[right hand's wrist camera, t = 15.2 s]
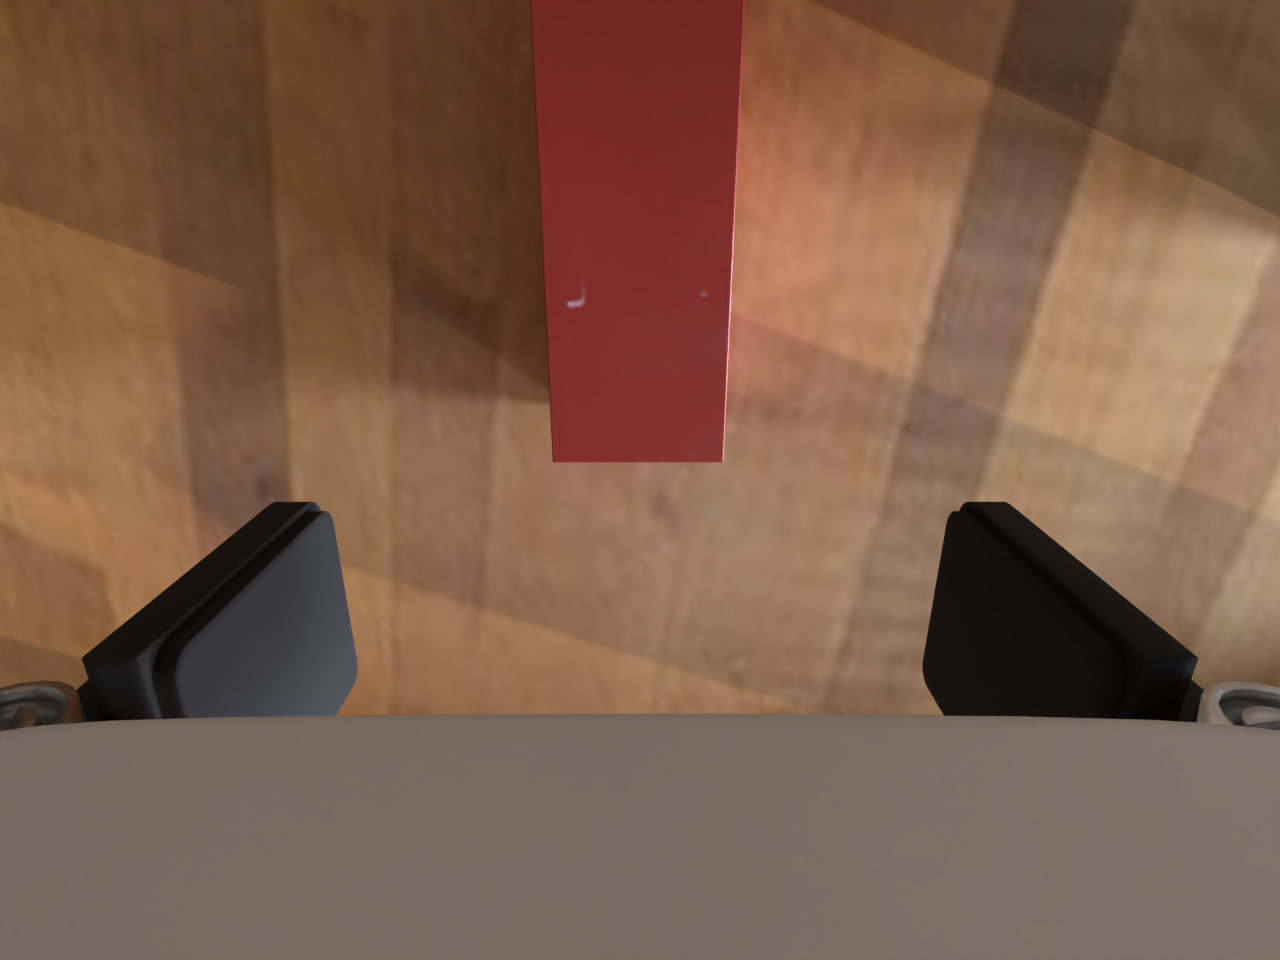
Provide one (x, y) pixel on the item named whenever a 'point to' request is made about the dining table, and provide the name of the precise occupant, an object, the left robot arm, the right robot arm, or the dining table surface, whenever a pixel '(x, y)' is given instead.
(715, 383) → the cabinet
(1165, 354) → the dining table surface
